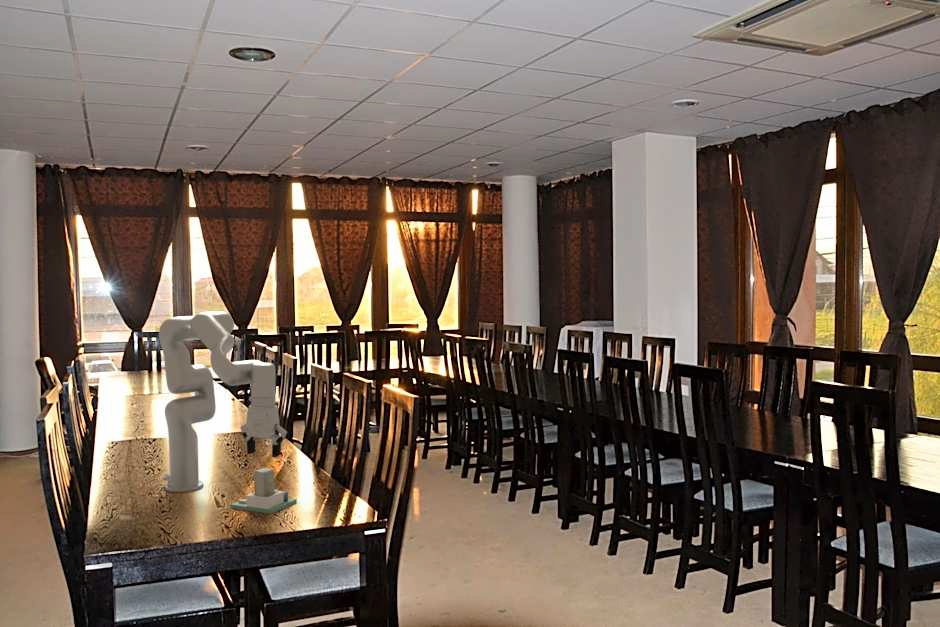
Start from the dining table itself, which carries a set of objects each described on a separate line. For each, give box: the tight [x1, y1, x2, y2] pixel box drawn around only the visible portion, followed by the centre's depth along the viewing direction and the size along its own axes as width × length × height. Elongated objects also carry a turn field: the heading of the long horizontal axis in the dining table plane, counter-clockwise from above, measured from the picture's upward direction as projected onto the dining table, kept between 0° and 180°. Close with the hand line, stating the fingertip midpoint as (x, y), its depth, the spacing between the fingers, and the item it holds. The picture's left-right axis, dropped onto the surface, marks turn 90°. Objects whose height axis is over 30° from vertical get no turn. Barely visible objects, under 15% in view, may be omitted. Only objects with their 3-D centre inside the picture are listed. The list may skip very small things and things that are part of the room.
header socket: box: [246, 489, 285, 509], centre depth 260 cm, size 8×9×4 cm
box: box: [253, 467, 276, 497], centre depth 259 cm, size 5×4×11 cm
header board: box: [230, 491, 297, 515], centre depth 262 cm, size 16×13×4 cm
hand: (263, 454), depth 259 cm, fingers open, 9 cm apart
